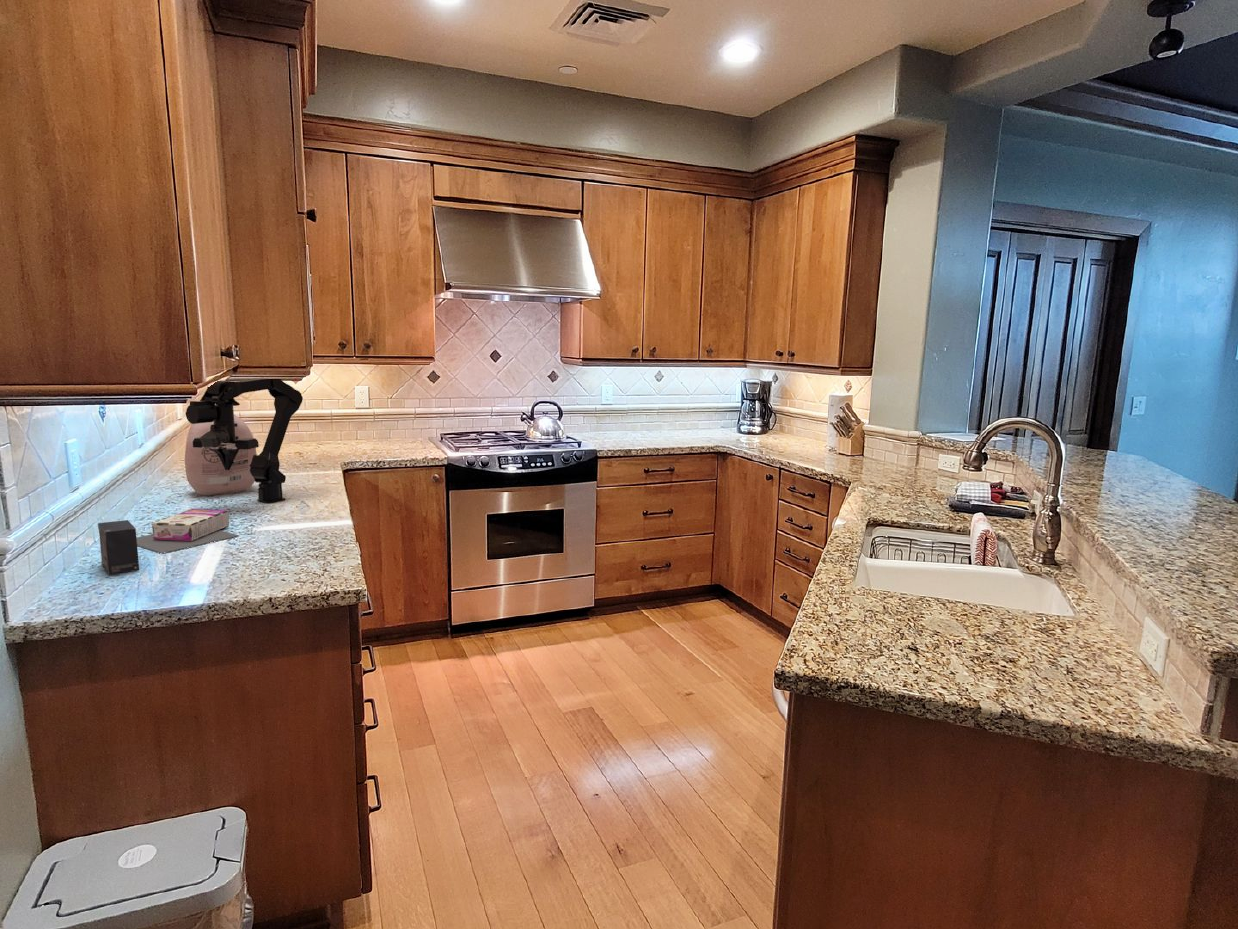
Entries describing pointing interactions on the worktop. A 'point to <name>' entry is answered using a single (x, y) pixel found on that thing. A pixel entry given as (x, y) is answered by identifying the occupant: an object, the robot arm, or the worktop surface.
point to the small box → (118, 546)
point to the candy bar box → (190, 525)
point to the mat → (180, 542)
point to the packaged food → (217, 463)
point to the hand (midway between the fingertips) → (227, 469)
